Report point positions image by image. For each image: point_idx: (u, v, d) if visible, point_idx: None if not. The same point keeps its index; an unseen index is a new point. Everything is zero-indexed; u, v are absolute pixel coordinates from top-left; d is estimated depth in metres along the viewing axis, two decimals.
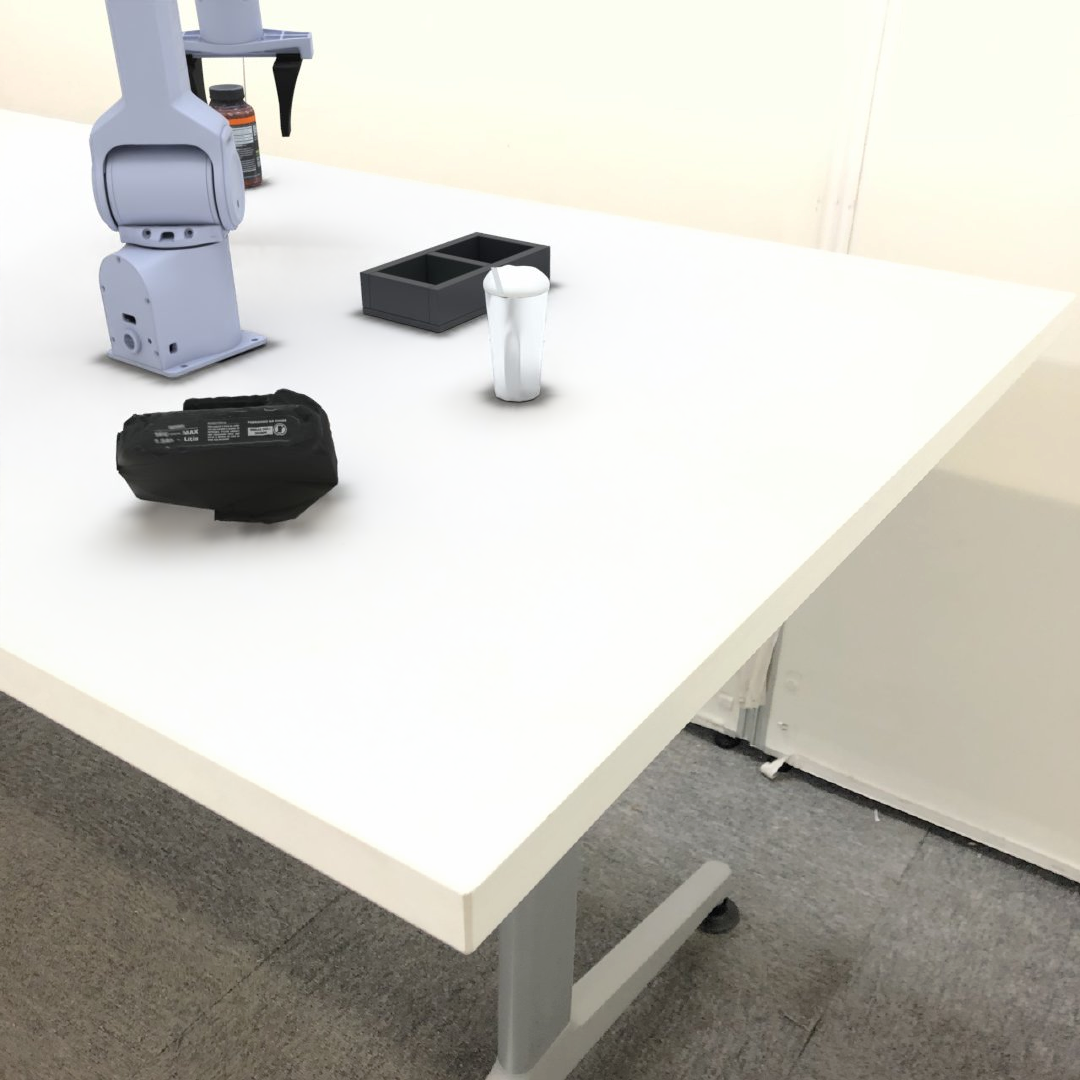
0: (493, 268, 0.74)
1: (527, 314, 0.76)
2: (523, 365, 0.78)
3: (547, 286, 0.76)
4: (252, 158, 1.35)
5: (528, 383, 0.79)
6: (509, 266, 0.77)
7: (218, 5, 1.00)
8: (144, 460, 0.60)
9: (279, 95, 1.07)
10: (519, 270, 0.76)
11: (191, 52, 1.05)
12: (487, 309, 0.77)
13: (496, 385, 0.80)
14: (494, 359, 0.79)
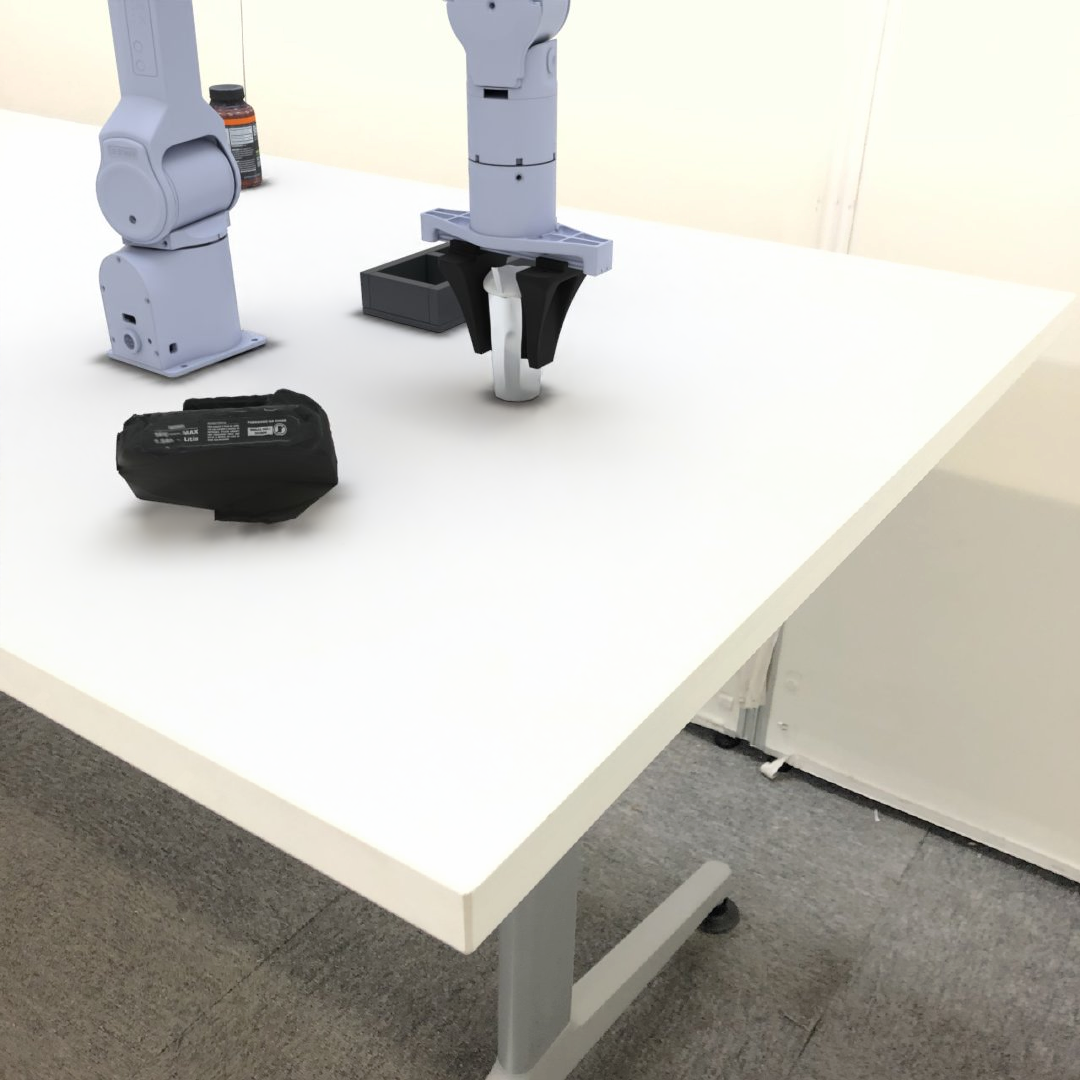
0: (493, 268, 0.74)
1: None
2: (523, 365, 0.78)
3: None
4: (252, 158, 1.35)
5: (528, 383, 0.79)
6: (509, 266, 0.77)
7: (482, 181, 0.71)
8: (144, 460, 0.60)
9: (526, 312, 0.75)
10: (520, 270, 0.76)
11: None
12: (487, 309, 0.77)
13: (496, 385, 0.80)
14: (494, 359, 0.79)
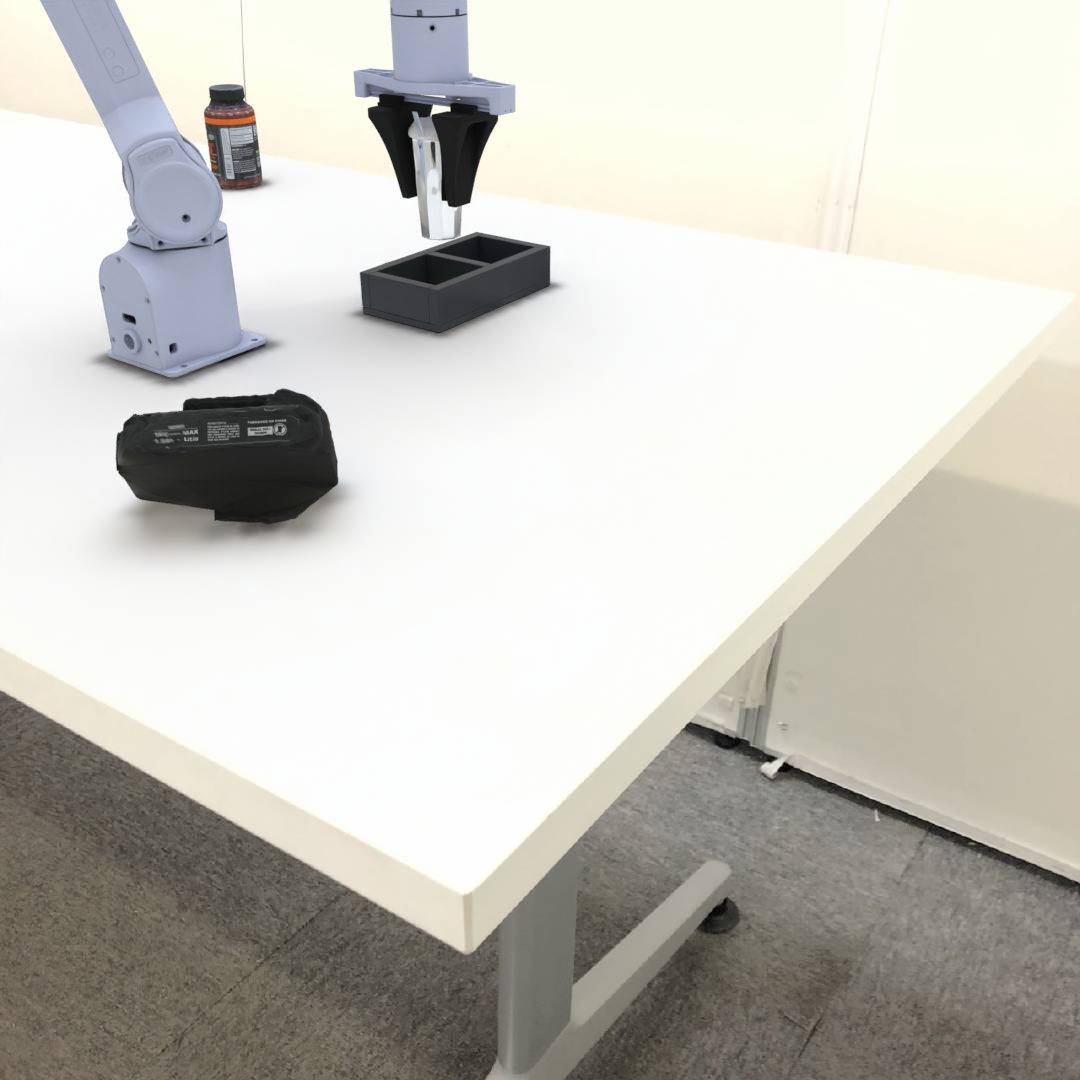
0: (414, 112, 0.84)
1: None
2: (444, 205, 0.89)
3: None
4: (252, 158, 1.35)
5: (449, 223, 0.90)
6: (431, 117, 0.88)
7: (401, 32, 0.82)
8: (144, 460, 0.60)
9: (443, 152, 0.85)
10: None
11: (404, 94, 0.87)
12: (412, 154, 0.88)
13: (421, 226, 0.91)
14: (419, 201, 0.89)
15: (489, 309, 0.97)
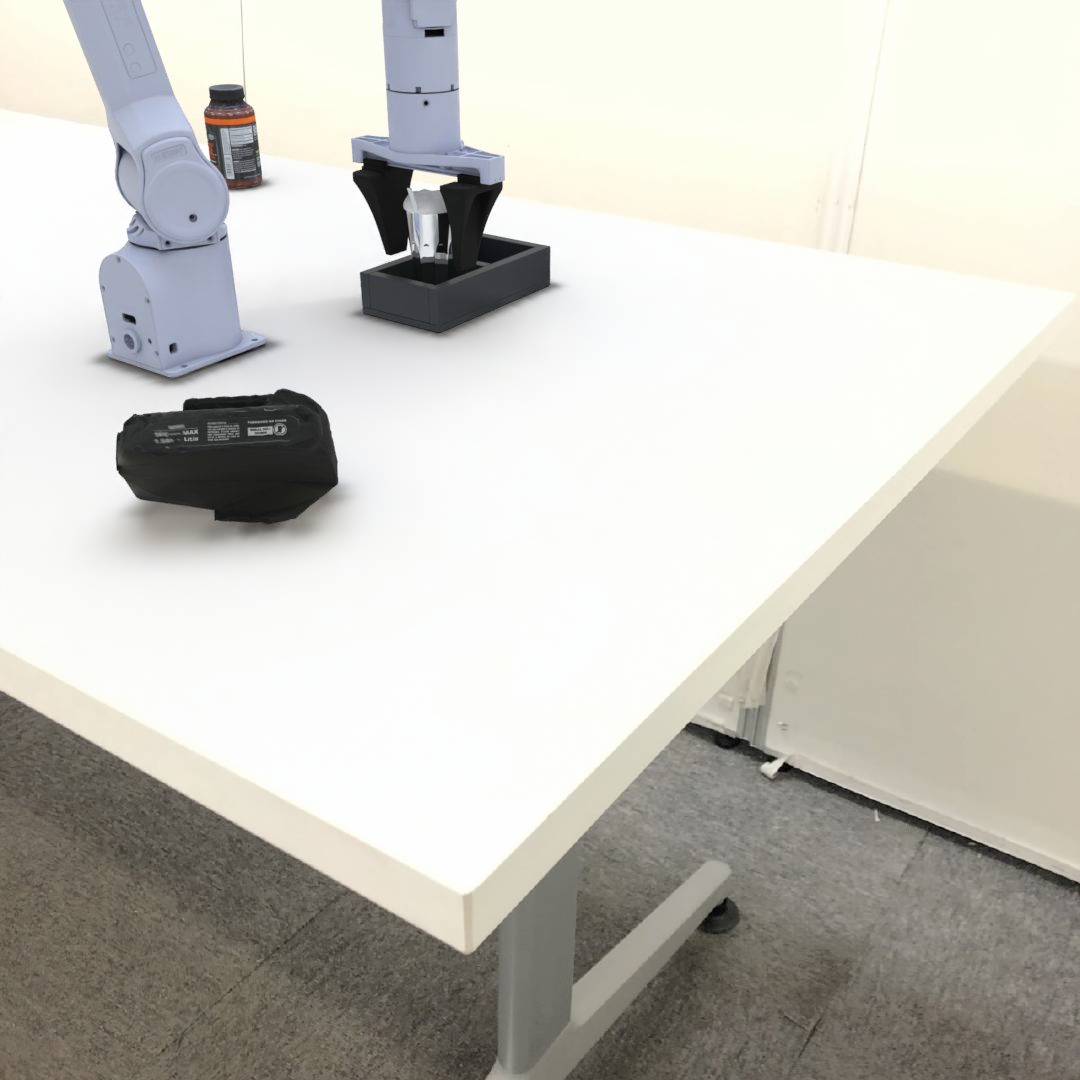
0: (408, 188, 0.90)
1: (439, 228, 0.92)
2: (438, 272, 0.94)
3: None
4: (252, 158, 1.35)
5: None
6: (425, 190, 0.93)
7: (396, 106, 0.87)
8: (144, 460, 0.60)
9: (450, 220, 0.90)
10: (433, 192, 0.92)
11: (387, 159, 0.93)
12: (407, 225, 0.93)
13: None
14: (414, 268, 0.95)
15: (489, 309, 0.97)
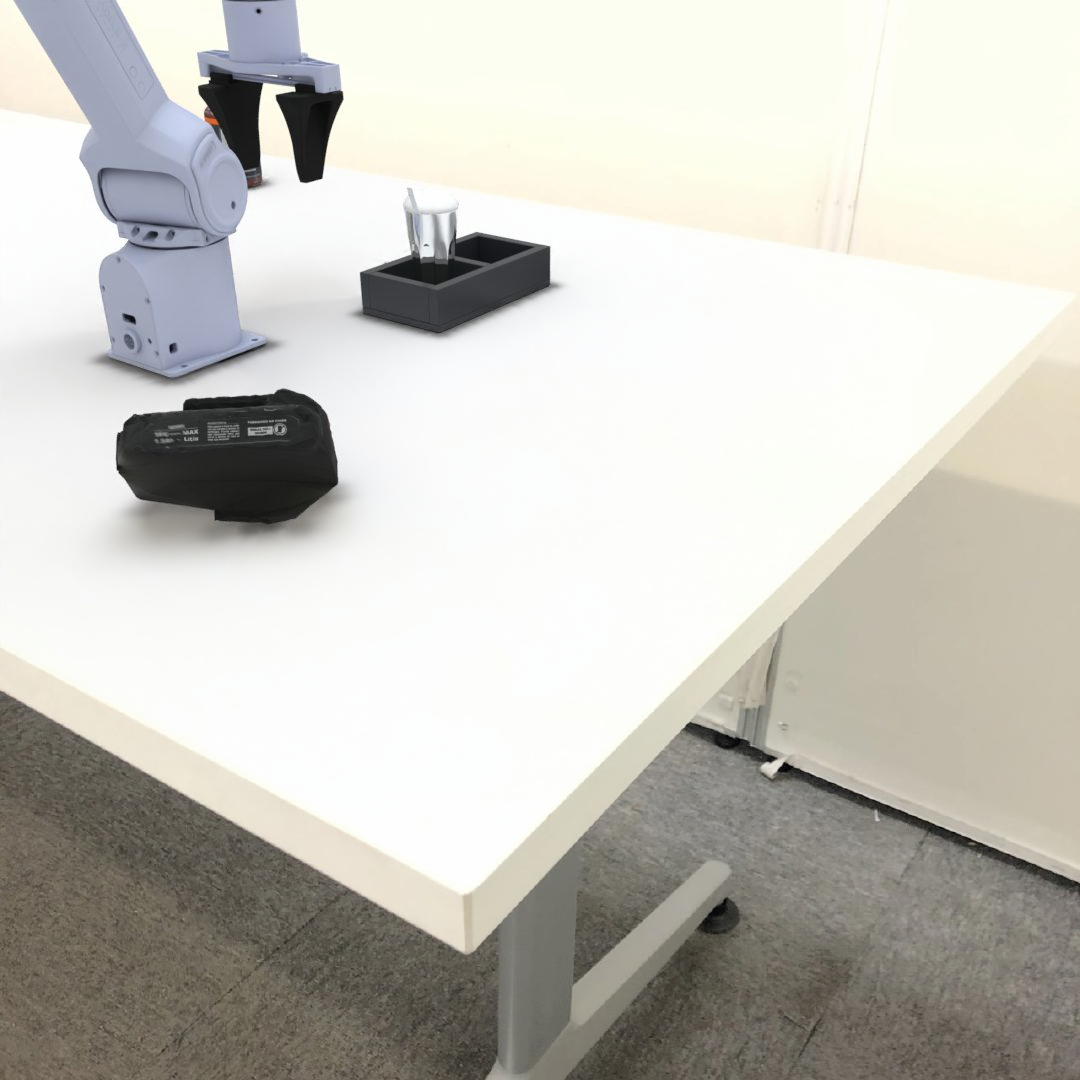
0: (408, 188, 0.90)
1: (439, 228, 0.92)
2: (438, 272, 0.94)
3: (455, 205, 0.92)
4: None
5: None
6: (425, 190, 0.93)
7: (230, 15, 0.87)
8: (144, 460, 0.60)
9: (290, 130, 0.90)
10: (433, 192, 0.92)
11: (232, 72, 0.93)
12: (407, 225, 0.93)
13: None
14: (414, 268, 0.95)
15: (489, 309, 0.97)
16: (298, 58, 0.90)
